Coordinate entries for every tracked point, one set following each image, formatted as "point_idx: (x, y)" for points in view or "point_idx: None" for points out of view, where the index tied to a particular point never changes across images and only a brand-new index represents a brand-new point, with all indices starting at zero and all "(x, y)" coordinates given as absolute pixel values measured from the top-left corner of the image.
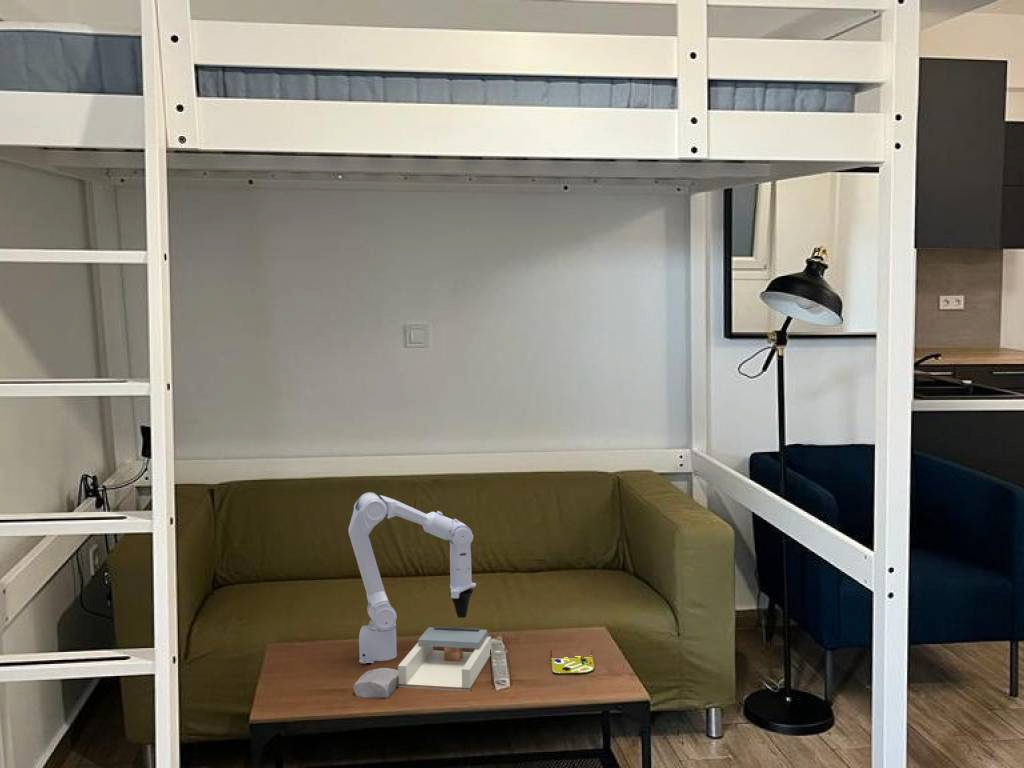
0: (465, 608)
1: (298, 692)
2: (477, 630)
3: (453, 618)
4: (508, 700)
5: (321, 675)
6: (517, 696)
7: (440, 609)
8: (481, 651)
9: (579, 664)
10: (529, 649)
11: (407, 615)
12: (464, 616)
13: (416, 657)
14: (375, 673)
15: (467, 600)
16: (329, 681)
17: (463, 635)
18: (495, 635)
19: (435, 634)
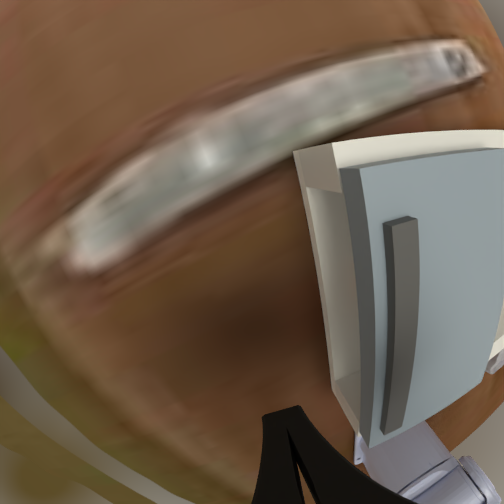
0: (337, 454)
1: (494, 397)
2: (413, 223)
3: (39, 432)
4: (499, 44)
5: (450, 428)
6: (482, 25)
7: (31, 458)
8: (491, 130)
9: None
10: (136, 44)
11: (103, 495)
12: (303, 413)
13: (499, 327)
14: None
15: (394, 501)
16: (472, 403)
17: (462, 268)
18: (45, 270)
19: (447, 379)
